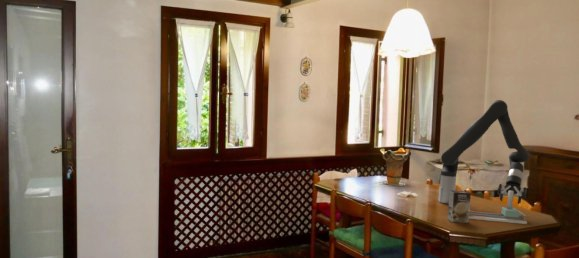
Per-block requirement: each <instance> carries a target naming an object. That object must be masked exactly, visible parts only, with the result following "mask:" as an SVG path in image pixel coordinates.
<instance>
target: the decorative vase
mask: <svg viewBox="0 0 579 258" xmlns="http://www.w3.org/2000/svg"><path fill="white" fill-rule="evenodd" d="M379 152H380V153H381V157H382V159H383V160H384V161H385V162H386V175H385V177H386V180H382V181H381V183H382V184H384V185H390V186H397V187H401V186H406V184H405V183H404V182H402V181H401V179H402V175H403V169H404V168H403V166H404V163H405V162H406V161H407V160H408V158H409V156H410V152H411V150H410V149H409V148H406V149H404V147H400V148H398V150H395V151H392V150H391V149H388V150H387V151H385V148H381V149H380V150H379Z"/></svg>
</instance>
